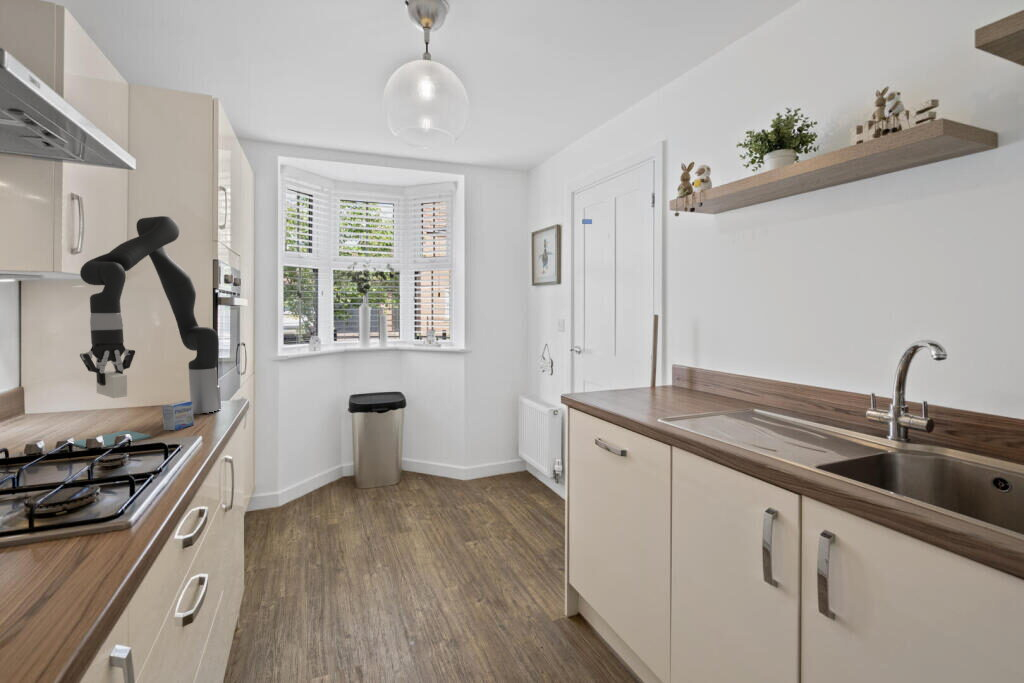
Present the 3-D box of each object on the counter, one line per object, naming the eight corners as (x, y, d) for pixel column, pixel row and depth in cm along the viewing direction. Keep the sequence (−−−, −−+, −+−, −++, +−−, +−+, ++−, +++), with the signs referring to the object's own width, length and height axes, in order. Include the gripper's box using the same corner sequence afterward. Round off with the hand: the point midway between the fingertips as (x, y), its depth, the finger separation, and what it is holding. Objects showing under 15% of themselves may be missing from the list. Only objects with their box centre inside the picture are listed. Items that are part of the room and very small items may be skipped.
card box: (113, 376, 144) (96, 372, 148) (113, 398, 145) (96, 392, 149) (126, 375, 147) (109, 370, 151) (127, 396, 148) (110, 390, 152)
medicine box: (174, 431, 161) (172, 405, 161) (163, 430, 162) (161, 405, 162) (194, 425, 169) (192, 400, 168) (183, 424, 170) (182, 400, 169)
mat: (126, 432, 160) (126, 430, 160) (151, 437, 154) (151, 435, 154) (69, 444, 146) (69, 442, 146) (94, 450, 140) (94, 448, 140)
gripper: (126, 326, 155) (129, 380, 156) (71, 328, 142) (75, 386, 143) (140, 327, 152) (143, 381, 153) (84, 329, 139) (88, 388, 140)
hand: (110, 384), depth 148 cm, fingers closed on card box, 3 cm apart
